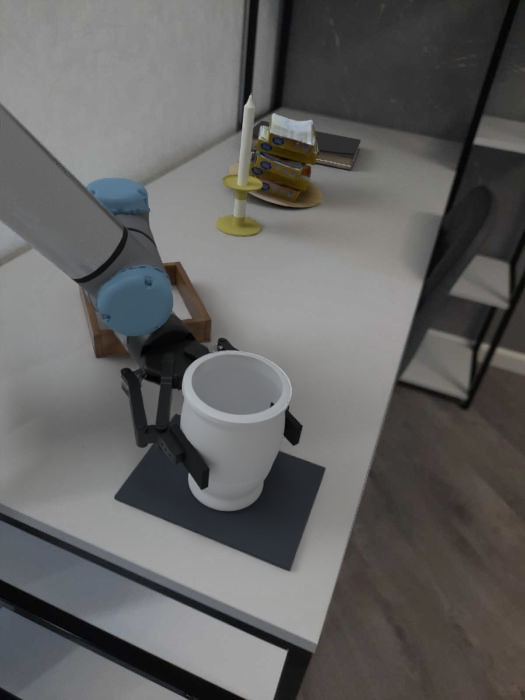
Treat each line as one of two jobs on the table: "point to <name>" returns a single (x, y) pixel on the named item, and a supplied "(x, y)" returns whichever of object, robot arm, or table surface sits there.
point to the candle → (242, 183)
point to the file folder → (326, 147)
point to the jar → (234, 423)
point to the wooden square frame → (198, 325)
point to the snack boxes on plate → (285, 162)
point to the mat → (230, 526)
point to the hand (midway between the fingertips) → (254, 456)
